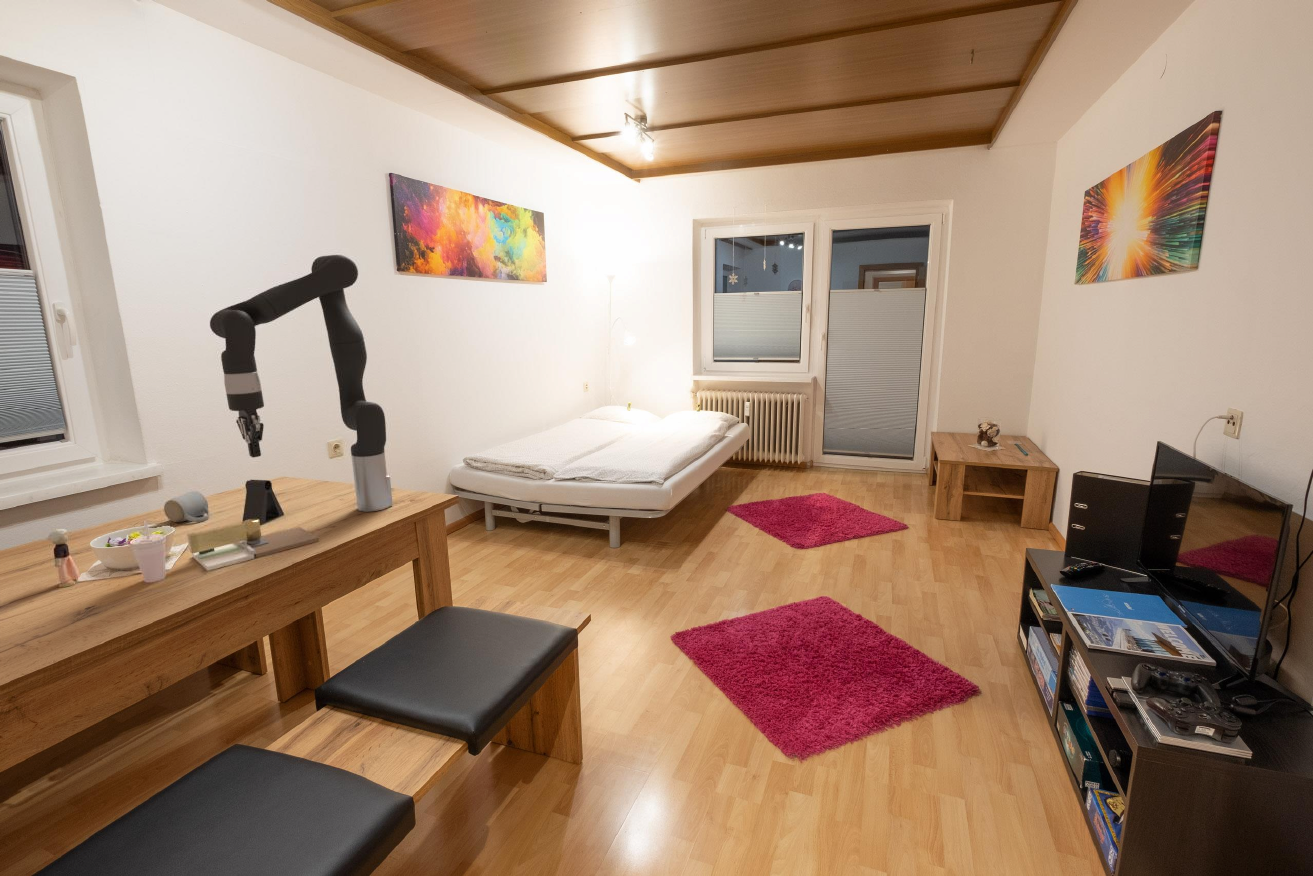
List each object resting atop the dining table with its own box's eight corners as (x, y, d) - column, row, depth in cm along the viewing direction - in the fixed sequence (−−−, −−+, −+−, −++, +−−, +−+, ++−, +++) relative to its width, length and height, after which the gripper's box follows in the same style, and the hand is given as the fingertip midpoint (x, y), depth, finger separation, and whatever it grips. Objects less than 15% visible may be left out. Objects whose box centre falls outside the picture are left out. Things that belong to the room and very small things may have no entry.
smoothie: (143, 587, 133) (131, 527, 130) (132, 581, 136) (120, 522, 134) (178, 576, 138) (167, 519, 136) (166, 570, 142) (155, 514, 139)
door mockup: (300, 530, 168) (298, 517, 167) (318, 541, 160) (317, 527, 159) (192, 556, 150) (190, 542, 149) (207, 570, 142) (205, 555, 141)
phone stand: (260, 525, 172) (254, 485, 170) (242, 524, 173) (236, 484, 171) (284, 515, 181) (279, 476, 178) (266, 514, 182) (261, 475, 179)
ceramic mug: (163, 522, 175) (159, 497, 174) (190, 513, 183) (187, 489, 181) (192, 526, 173) (188, 500, 171) (219, 516, 180) (215, 492, 179)
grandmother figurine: (81, 584, 135) (69, 531, 132) (57, 590, 132) (44, 535, 130) (80, 574, 140) (69, 522, 138) (57, 579, 138) (45, 527, 135)
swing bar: (258, 534, 158) (256, 517, 157) (263, 537, 155) (261, 520, 154) (189, 551, 146) (185, 533, 146) (193, 555, 144) (190, 536, 143)
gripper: (269, 390, 151) (280, 457, 155) (251, 386, 160) (262, 450, 164) (235, 394, 146) (247, 463, 150) (218, 390, 154) (230, 455, 158)
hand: (255, 456), depth 157 cm, fingers closed
